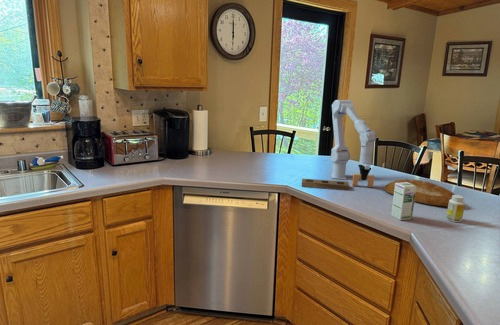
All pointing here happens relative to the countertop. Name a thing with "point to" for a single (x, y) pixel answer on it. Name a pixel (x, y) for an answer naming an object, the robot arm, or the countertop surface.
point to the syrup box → (403, 201)
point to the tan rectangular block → (358, 176)
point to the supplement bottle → (455, 208)
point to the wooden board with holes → (325, 184)
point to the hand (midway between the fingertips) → (363, 179)
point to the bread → (425, 192)
